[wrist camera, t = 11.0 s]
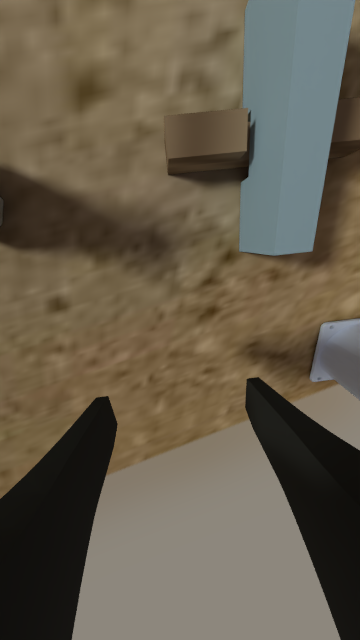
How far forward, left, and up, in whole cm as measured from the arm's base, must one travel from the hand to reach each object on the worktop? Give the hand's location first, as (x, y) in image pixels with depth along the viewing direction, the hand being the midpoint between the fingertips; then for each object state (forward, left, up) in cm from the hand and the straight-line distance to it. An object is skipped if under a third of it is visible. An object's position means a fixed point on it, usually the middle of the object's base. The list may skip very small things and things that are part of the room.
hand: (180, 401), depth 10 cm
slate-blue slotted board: (-8, -13, -10) cm, 19 cm away
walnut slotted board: (-8, -14, -10) cm, 19 cm away
